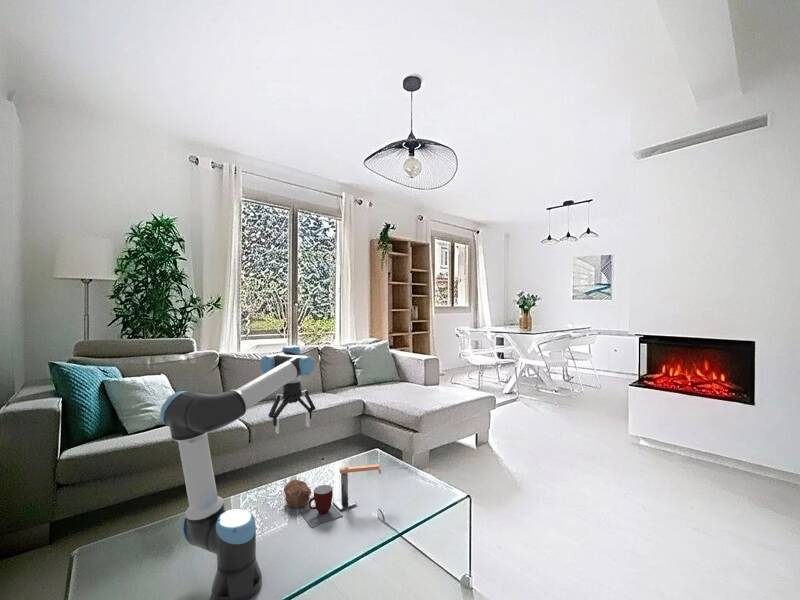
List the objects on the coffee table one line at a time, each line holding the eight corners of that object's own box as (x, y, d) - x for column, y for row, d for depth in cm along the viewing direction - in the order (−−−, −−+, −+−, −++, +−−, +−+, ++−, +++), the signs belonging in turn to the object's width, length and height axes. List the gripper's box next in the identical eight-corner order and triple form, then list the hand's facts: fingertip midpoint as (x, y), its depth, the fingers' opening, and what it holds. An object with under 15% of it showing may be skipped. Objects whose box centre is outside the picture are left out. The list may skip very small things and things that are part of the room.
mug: (313, 521, 162) (312, 498, 162) (305, 512, 168) (305, 490, 168) (336, 513, 168) (335, 490, 168) (328, 505, 174) (327, 483, 174)
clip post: (340, 511, 170) (340, 478, 170) (333, 503, 176) (332, 472, 176) (356, 505, 174) (356, 473, 174) (348, 498, 181) (348, 467, 181)
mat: (311, 528, 158) (311, 527, 158) (299, 512, 170) (299, 511, 170) (342, 516, 166) (342, 515, 166) (329, 502, 178) (329, 501, 178)
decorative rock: (280, 502, 179) (279, 480, 178) (302, 493, 186) (301, 472, 186) (292, 513, 169) (292, 491, 169) (315, 504, 176) (315, 482, 176)
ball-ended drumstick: (381, 474, 176) (381, 466, 176) (340, 478, 173) (339, 471, 173) (379, 470, 180) (379, 463, 180) (339, 474, 177) (339, 467, 177)
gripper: (265, 387, 159) (266, 438, 159) (322, 378, 173) (323, 426, 173) (260, 383, 165) (261, 433, 165) (315, 376, 179) (316, 421, 179)
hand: (292, 429), depth 169 cm, fingers open, 13 cm apart
